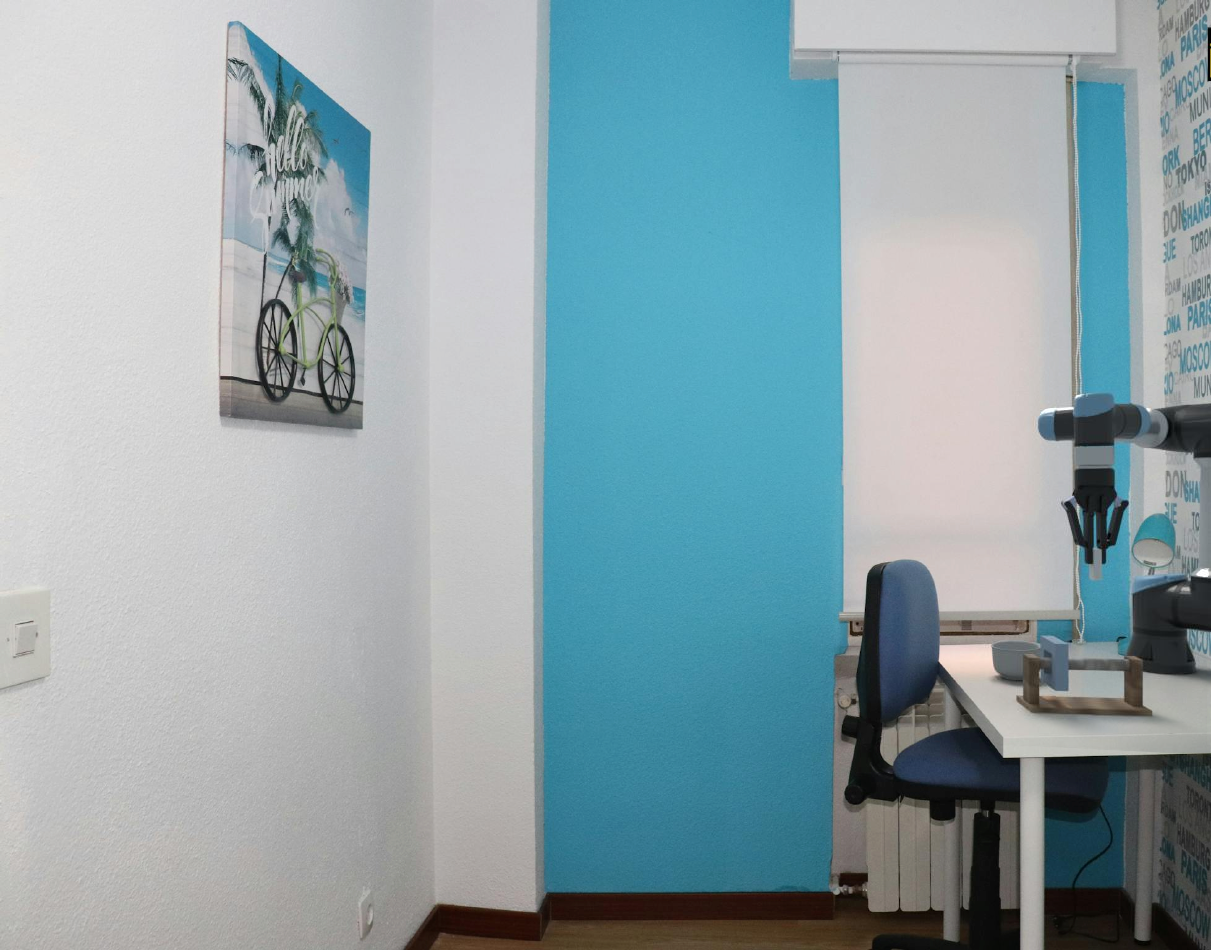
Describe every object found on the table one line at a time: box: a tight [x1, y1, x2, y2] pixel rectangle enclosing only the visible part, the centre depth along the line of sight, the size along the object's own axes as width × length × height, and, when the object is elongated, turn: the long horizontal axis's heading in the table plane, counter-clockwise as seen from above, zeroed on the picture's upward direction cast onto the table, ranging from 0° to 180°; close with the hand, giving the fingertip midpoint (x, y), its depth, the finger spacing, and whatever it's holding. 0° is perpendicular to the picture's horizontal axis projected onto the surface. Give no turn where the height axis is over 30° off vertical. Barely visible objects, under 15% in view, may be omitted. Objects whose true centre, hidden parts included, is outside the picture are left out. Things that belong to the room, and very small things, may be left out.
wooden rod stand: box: [1015, 654, 1153, 717], centre depth 192 cm, size 23×10×10 cm, turn 82°
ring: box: [1039, 635, 1070, 692], centre depth 193 cm, size 2×9×10 cm, turn 172°
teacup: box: [990, 639, 1041, 681], centre depth 221 cm, size 14×11×8 cm
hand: (1095, 579), depth 195 cm, fingers closed
